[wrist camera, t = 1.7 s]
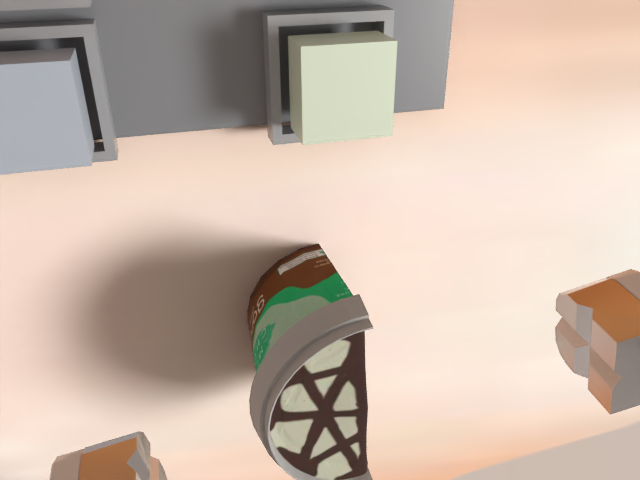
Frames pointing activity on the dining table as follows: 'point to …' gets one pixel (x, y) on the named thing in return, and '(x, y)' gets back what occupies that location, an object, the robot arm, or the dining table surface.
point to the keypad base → (217, 57)
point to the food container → (310, 369)
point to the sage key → (341, 86)
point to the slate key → (43, 112)
